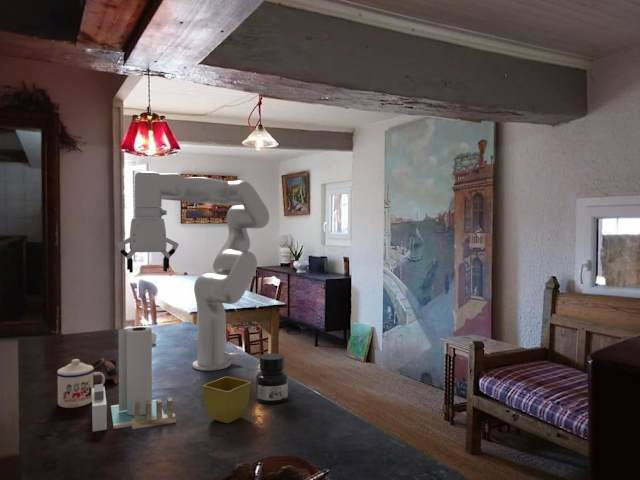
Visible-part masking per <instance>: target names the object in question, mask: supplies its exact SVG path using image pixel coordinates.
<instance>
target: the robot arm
mask: <svg viewBox="0 0 640 480" xmlns="http://www.w3.org/2000/svg"><path fill="white" fill-rule="evenodd" d="M162 200H165V201H178V202H188V203H194V204H195V203H197V204H198V203H199V204H209V205H219V206H220V205H221V206H231V207H230V208H229V209H228V210H227V213H226V223H227V227H228V236H227V240H226V241H225V243H224V244H223V246H222V247H221V249H220V251H219V252H218V254H217V255H216V257H215V258H214V260H213V263H212V268H213V270H214V272H215V273H204V274H202V275H200V276H199V277H197V278H196V279H195V282H194V286H193V287H194V290H193V291H194V296H195V301H196V302H195V303H196V315H197V317H196V318H197V319H196V321H197V322H196V323H197V324H196V326H197V327H196V331H197V332H196V333H197V335H196V336H197V337H196V341H197V342H196V344H197V345H196V354H197V355H196V357H197V358H196V359H197V360H195V361H193V362H192V368H193V369H195V370H197V371H207V372H208V371H209V372H211V371H219V370H224V369H227V368H229V367H230V366H231V360H233V359H234V360H238V359H240V352H234V351H233V352H232V351H231V352H228V351H227V349H226V346H227V344H226V343H227V342H226V339H227V338H226V335H227V333H226V332H227V330H226V329H227V328H226V324H227V323H226V322H227V315H226V314H227V313H226V309H225V306H224V304H227V305H233V304H236V303H238V302H239V301H240V300H241V299H242V298H243V296H244V294H245V293H246V290H247V288H249V286H250V284H251V282H252V280H253V279H254V277H255V275H256V271H257V269H258V260H257V258H256V255H255V254H254V253H253V252H251V251H249V250H250V247H251V239H250V237H249V233H248V230H247V229H263V228H265V227H266V226H267V225H268V224H269V221H270V213H269V209H268V208H267V205H266V204H265V202H264V201H263V199H262V198H261V196H260V195H259V193H258V192H257V190H256V189H255V187H254V186H252V185H251V183H249V181H246V180H221V179H215V178H211V177H210V178H208V177H201V176H199V177H198V176H197V177H196V176H195V177H194V176H193V177H184V176H183V175H182V174H179V173H173V172H172V173H159V172H155V171H138V172H136V173H135V175H134V218H131V221H130V228H129V237H128V238H126V239H123V240H122V241H120V242H118V243H116V247H117V249H118V250H119V252H120V254H122V255H123V256H124V257H125V258H126V269H127V270H128V272H129V273H130V274H131V273H133V272H134V271H133V270H134V264H133V263H134V260H133V259H134V258H133V256H134V255H135V254H136V253H161V254H162V255H163V256H164V257H163V258H162V271H163V272H168V270H169V269H170V258H171V257H172V256H173V255H174V254H175V253H176V250H177V249H178V247H179V243H178V242H176V241H174V240H172V239H170V238H168V237H167V230H166V223H165V219H164V218H162V217H163V216H164V215H165V216H166V215H167V212H168V211H167V210H164V209H163V208H162ZM128 244H129V252H127V251H126V250H125V248H124V246H125V245H128ZM167 244H170V245H171V246H172V247H171V249H169V251H167Z"/></svg>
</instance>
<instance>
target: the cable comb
mask: <svg viewBox="0 0 640 480" xmlns="http://www.w3.org/2000/svg"><path fill="white" fill-rule="evenodd" d="M155 400H156V416H151V402H150V400H149V401H146V417H144V418H140V403H139V402H135V419H131V423H132V426H131V429H132V430H135V429H142V428H149V427H154V426H155V427H156V426H161V425H167V424H168V425H169V424H173V423H175V424H176V420H177V417H176V416H177V415H176V414H175V413H174V412H173V411H174V410H173V406H174V405H173V404H174V402H173V399H172V397H167V398H166V414H165V413H164V415H162V409H163V402H162V399H161V398H157V399H155Z"/></svg>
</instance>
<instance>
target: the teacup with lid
mask: <svg viewBox="0 0 640 480" xmlns="http://www.w3.org/2000/svg"><path fill="white" fill-rule="evenodd" d="M93 371H94V368H93V366H91V364H86V363H84V362H81V360H80V359H78V358H75V359H72V360H71V363H69V364H67V365H65V366H63V367H61V368H59V369H58V370H57V372H56V376H57V404H58V406H59V407H62V408H66V409H67V408H68V409H71V408H73V409H74V408H79V407H83V406H86V405H90V403H91V404H92V388H94V379H93V376H95V375H96V376H101V382H100V384H103V386H104V385H105V383H106V376H105V373H101V372H94V373H93Z"/></svg>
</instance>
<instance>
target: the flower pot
mask: <svg viewBox="0 0 640 480" xmlns="http://www.w3.org/2000/svg"><path fill="white" fill-rule="evenodd" d="M251 385H252V381H248V380H245V379H240V378H235V377H232V376H223V377H221V378H219V379H216V380H213V381H210V382H208V383H207V382H206V383H205V384H203V385H202V392H203V399H204V404H205V408H206V410H207V413H208V414H209V415H210V418H212V419H213V420H215V421H218V422H220V423H225V424H229V423H232V422H234V421H236V420H237V419H239V418H241V417H242V416H243V414H244V413H245V411H246V409H247V407H248V404H249V401H250V394H251V393H250V392H251V387H252V386H251Z"/></svg>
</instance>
